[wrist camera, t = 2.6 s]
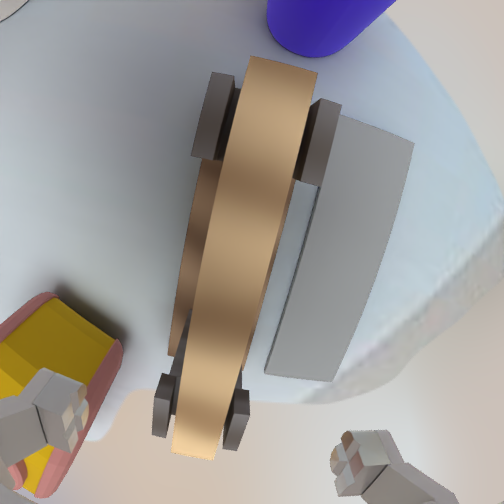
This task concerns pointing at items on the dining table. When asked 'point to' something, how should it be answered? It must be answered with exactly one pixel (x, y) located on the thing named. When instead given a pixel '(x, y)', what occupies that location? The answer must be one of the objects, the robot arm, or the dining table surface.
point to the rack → (212, 153)
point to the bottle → (321, 23)
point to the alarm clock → (60, 361)
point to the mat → (340, 250)
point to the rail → (239, 246)
